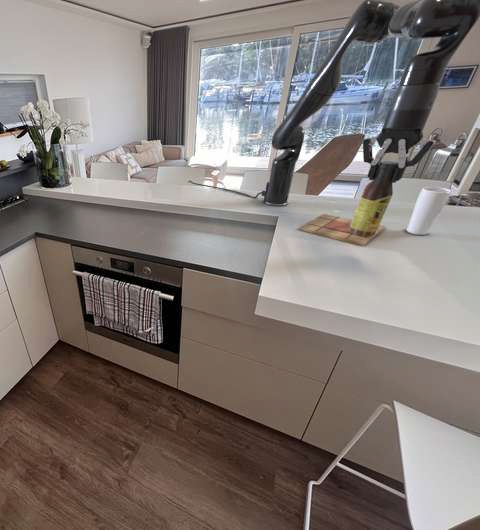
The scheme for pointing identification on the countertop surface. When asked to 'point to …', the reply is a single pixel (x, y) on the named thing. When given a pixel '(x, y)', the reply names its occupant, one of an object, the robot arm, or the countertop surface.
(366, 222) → the sauce bottle
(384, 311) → the countertop surface
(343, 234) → the board
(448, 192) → the drinking glass
